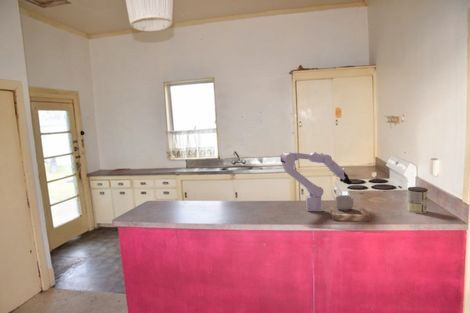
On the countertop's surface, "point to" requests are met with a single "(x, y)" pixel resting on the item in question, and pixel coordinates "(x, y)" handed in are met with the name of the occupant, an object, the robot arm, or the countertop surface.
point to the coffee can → (417, 200)
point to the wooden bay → (351, 215)
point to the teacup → (344, 202)
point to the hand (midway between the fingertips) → (348, 180)
